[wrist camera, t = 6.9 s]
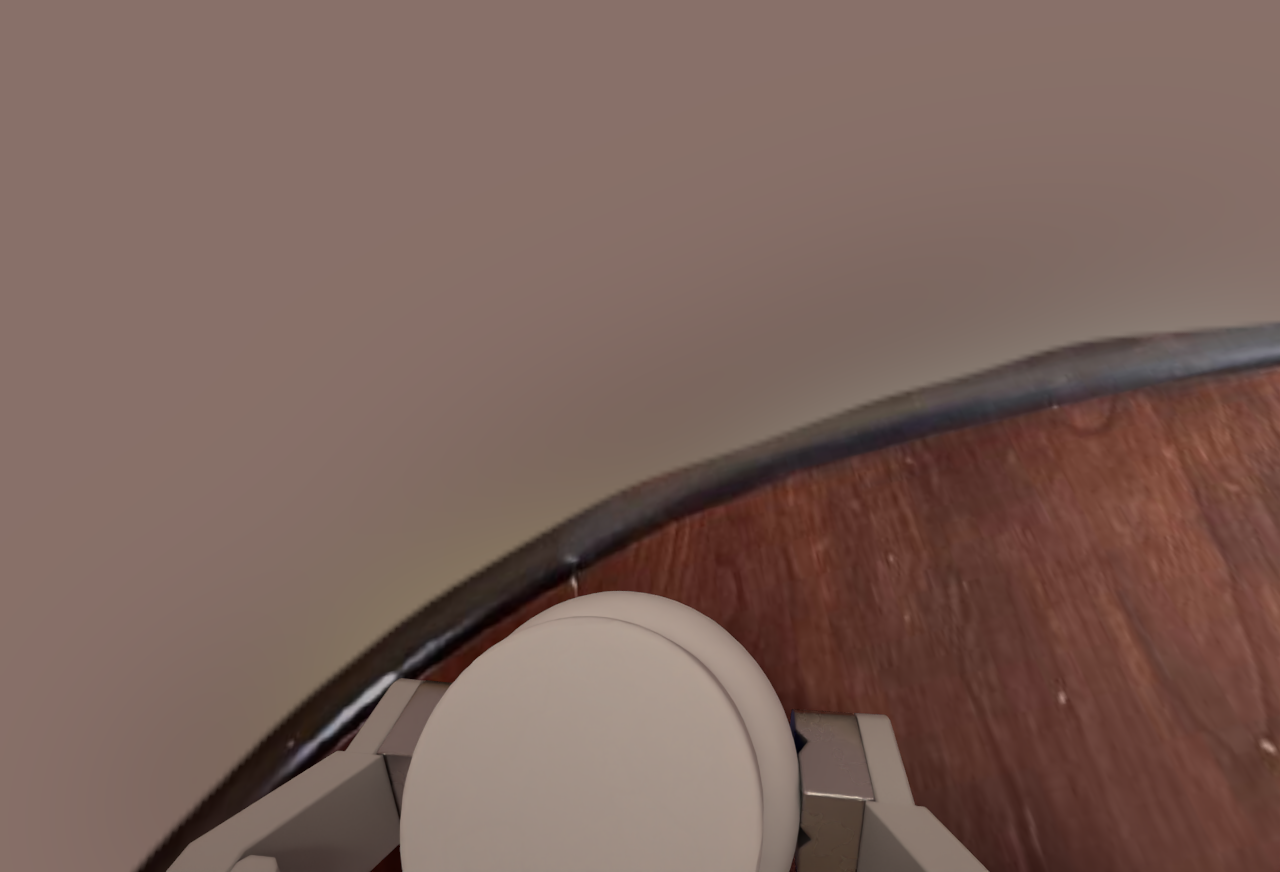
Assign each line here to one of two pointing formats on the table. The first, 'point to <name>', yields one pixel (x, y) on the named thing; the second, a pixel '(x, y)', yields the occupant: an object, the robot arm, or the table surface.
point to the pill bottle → (606, 751)
